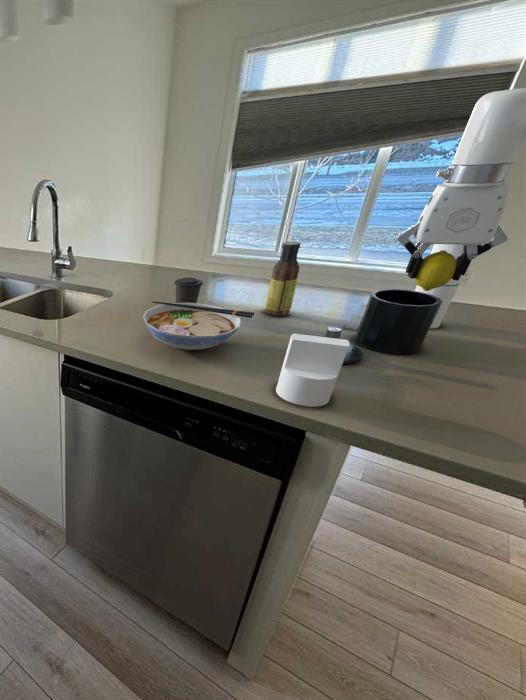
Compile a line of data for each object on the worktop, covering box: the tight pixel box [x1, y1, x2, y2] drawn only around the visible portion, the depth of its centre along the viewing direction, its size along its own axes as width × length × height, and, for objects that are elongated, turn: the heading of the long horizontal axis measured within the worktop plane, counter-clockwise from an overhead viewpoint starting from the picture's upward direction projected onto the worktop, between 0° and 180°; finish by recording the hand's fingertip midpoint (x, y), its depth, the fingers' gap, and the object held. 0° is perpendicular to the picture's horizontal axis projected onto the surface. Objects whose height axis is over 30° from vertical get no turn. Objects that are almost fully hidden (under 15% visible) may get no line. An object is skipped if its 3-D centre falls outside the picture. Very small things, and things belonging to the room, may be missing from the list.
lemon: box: [414, 250, 457, 291], centre depth 79 cm, size 6×6×8 cm
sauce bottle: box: [265, 240, 301, 317], centre depth 112 cm, size 7×6×20 cm
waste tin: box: [354, 288, 442, 356], centre depth 93 cm, size 12×12×12 cm
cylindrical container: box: [414, 244, 465, 329], centre depth 98 cm, size 7×7×25 cm
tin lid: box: [324, 326, 364, 364], centre depth 93 cm, size 13×13×6 cm
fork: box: [345, 304, 367, 331], centre depth 110 cm, size 3×21×3 cm, turn 131°
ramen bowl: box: [142, 300, 255, 351], centre depth 102 cm, size 25×23×8 cm
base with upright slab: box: [275, 333, 351, 408], centre depth 78 cm, size 9×9×12 cm
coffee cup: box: [173, 277, 204, 303], centre depth 122 cm, size 8×8×10 cm
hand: (432, 276), depth 80 cm, fingers closed on lemon, 5 cm apart
